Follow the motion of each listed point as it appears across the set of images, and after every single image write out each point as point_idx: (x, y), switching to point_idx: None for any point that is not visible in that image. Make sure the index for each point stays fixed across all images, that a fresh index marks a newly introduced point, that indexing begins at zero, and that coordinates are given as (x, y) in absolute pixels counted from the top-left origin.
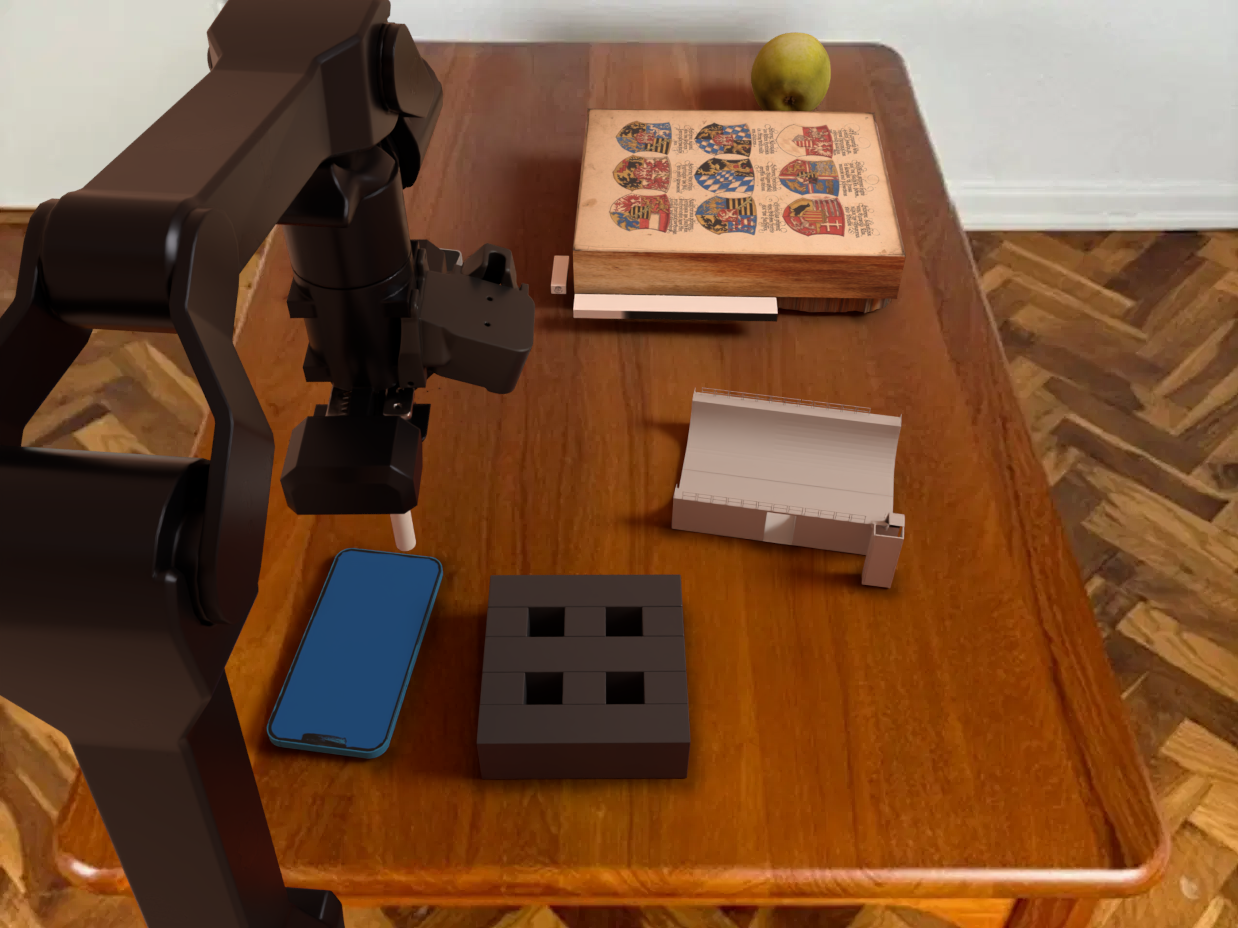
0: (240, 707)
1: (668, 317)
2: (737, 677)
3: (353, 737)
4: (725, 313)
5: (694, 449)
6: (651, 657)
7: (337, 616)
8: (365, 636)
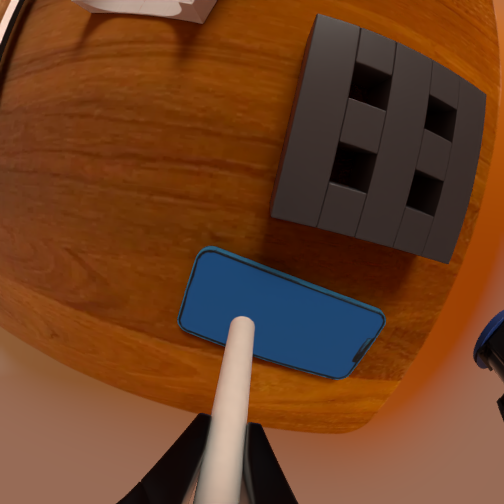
0: (304, 384)
1: (5, 42)
2: (382, 25)
3: (368, 333)
4: (18, 2)
5: (120, 5)
6: (416, 80)
7: None
8: (278, 321)
